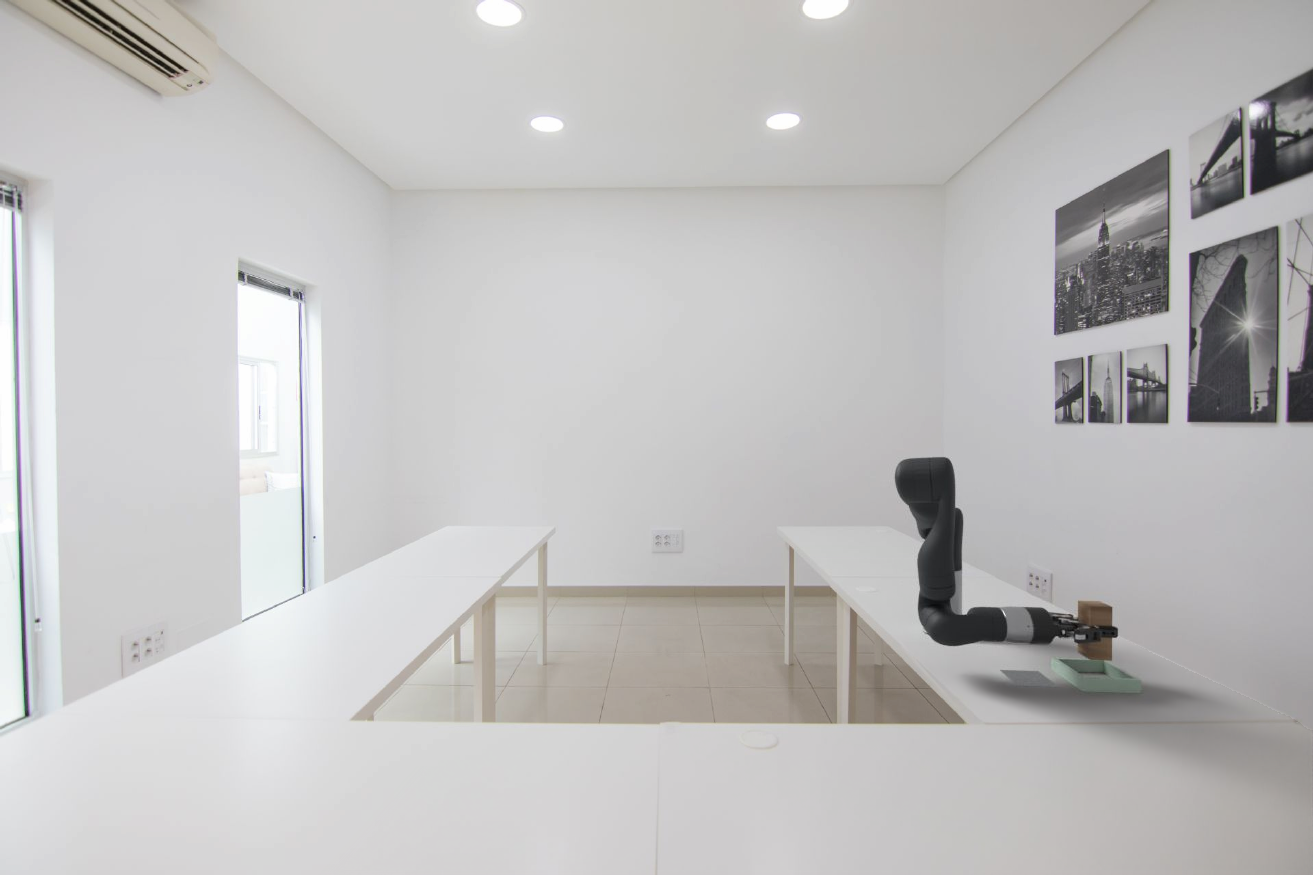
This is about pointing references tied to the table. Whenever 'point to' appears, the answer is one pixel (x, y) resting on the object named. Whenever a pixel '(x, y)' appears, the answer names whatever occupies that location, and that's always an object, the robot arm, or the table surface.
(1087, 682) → the tray
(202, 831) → the table surface
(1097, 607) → the block
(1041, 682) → the mount plate
